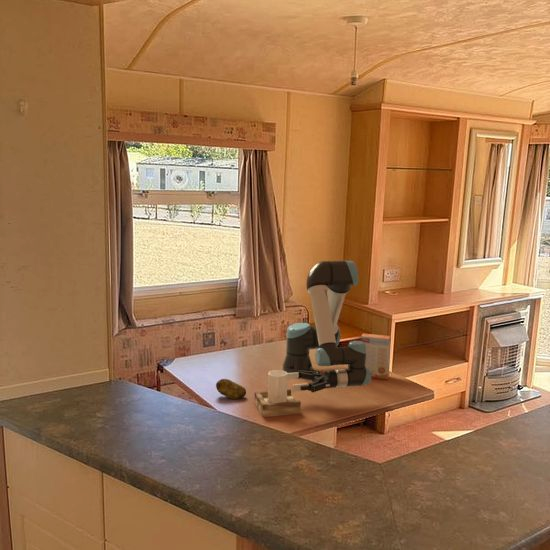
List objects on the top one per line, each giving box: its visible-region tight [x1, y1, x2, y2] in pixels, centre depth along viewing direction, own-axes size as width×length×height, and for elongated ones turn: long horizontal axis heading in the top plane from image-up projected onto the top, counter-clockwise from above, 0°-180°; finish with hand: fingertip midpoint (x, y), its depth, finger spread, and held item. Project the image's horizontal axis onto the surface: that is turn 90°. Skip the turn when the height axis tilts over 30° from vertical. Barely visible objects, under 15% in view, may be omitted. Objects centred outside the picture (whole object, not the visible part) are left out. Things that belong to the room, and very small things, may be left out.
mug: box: [267, 369, 288, 403], centre depth 237 cm, size 12×8×12 cm
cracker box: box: [360, 332, 392, 381], centre depth 277 cm, size 14×6×21 cm, turn 71°
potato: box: [215, 378, 247, 400], centre depth 249 cm, size 8×13×8 cm, turn 68°
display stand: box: [254, 388, 302, 418], centre depth 239 cm, size 15×16×5 cm
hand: (287, 382), depth 238 cm, fingers open, 13 cm apart
